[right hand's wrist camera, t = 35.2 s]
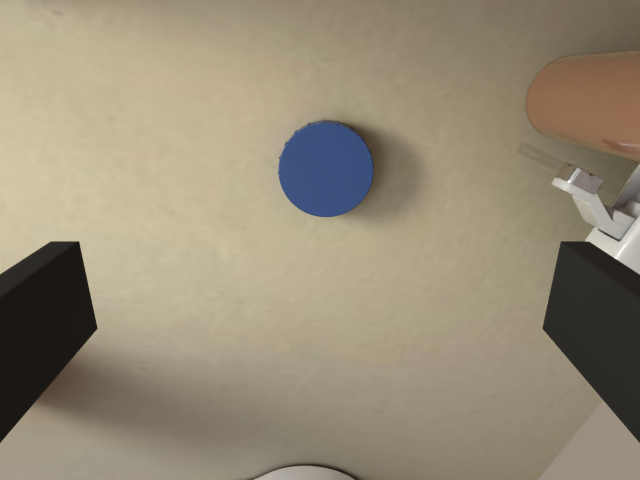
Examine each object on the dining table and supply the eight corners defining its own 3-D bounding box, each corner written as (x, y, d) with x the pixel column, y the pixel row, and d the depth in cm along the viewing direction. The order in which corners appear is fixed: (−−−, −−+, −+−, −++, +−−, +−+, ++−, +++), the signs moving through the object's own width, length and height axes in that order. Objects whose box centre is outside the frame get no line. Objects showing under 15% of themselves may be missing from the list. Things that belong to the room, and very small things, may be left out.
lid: (387, 183, 33) (390, 188, 31) (310, 226, 34) (309, 233, 32) (343, 101, 31) (344, 103, 29) (262, 150, 32) (259, 154, 30)
